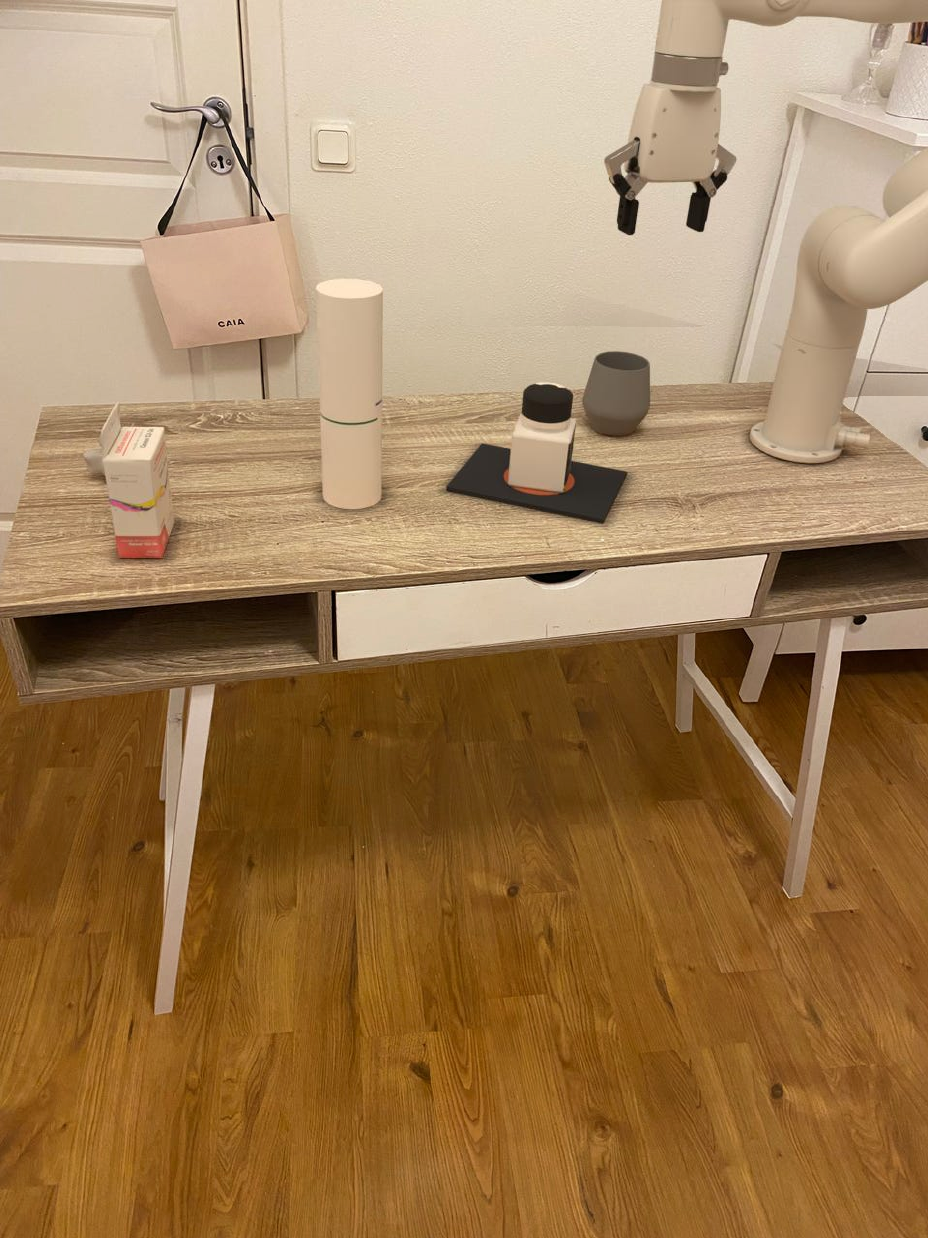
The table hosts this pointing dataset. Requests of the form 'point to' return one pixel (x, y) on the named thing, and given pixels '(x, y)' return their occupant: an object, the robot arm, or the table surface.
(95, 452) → the rubber duck
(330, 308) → the cylindrical container
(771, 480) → the table surface
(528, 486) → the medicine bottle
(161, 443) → the ink cartridge box
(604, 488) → the mat
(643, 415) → the cup
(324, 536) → the table surface
